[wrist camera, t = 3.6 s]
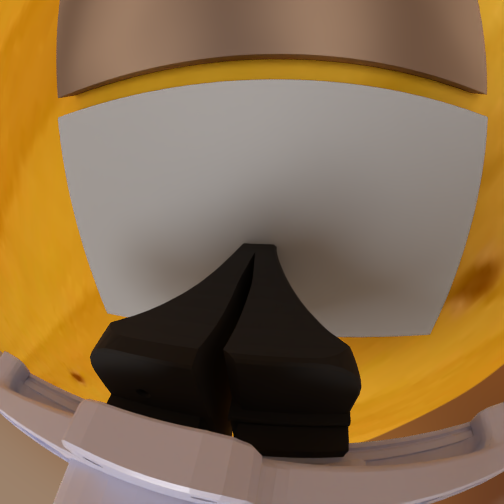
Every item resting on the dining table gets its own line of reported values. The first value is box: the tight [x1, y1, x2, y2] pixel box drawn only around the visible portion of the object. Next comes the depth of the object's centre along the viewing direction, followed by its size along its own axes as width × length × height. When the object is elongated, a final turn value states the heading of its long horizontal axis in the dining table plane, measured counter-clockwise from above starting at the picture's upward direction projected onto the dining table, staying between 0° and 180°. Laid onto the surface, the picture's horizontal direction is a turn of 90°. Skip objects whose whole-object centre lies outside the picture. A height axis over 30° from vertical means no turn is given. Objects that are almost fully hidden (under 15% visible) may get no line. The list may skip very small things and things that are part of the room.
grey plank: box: [58, 80, 488, 337], centre depth 11 cm, size 18×11×1 cm, turn 91°
